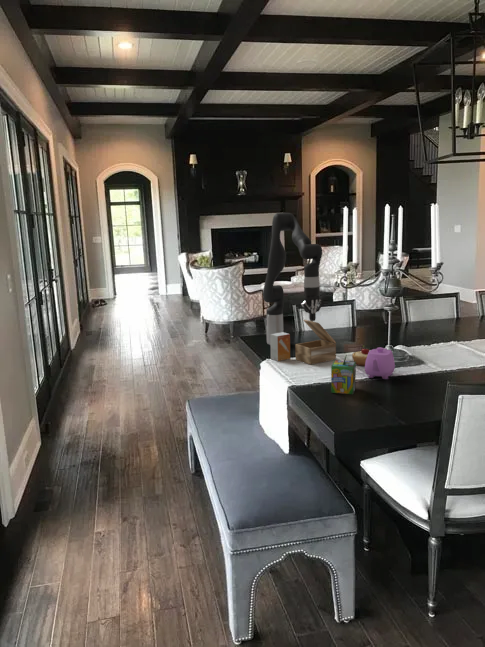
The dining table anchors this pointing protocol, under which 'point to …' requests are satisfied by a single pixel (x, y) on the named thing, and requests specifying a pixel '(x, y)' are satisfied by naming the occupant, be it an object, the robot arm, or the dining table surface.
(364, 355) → the pastry
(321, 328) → the lid
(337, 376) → the chalk box
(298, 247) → the robot arm
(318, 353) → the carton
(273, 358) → the small box
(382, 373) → the teapot
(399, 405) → the dining table surface
